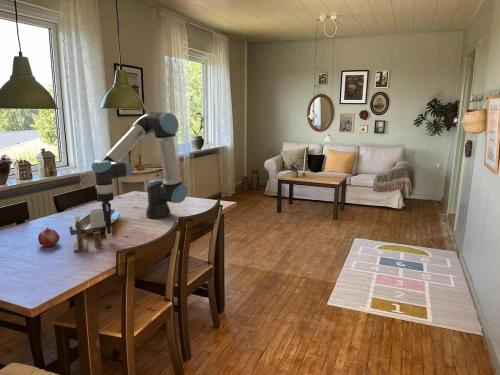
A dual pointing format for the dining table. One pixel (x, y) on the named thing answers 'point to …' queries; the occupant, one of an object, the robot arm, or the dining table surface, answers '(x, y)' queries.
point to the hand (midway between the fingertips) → (108, 236)
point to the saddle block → (97, 239)
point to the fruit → (48, 237)
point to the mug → (97, 218)
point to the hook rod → (89, 230)
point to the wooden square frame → (79, 238)
